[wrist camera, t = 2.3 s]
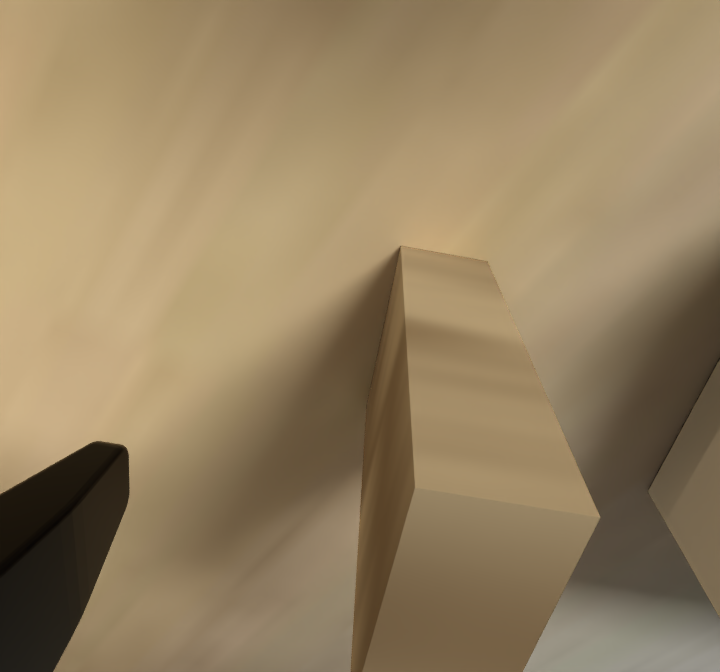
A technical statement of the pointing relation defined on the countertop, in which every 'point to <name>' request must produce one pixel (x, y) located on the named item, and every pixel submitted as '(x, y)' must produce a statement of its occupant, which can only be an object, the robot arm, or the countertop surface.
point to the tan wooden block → (460, 483)
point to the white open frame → (695, 489)
